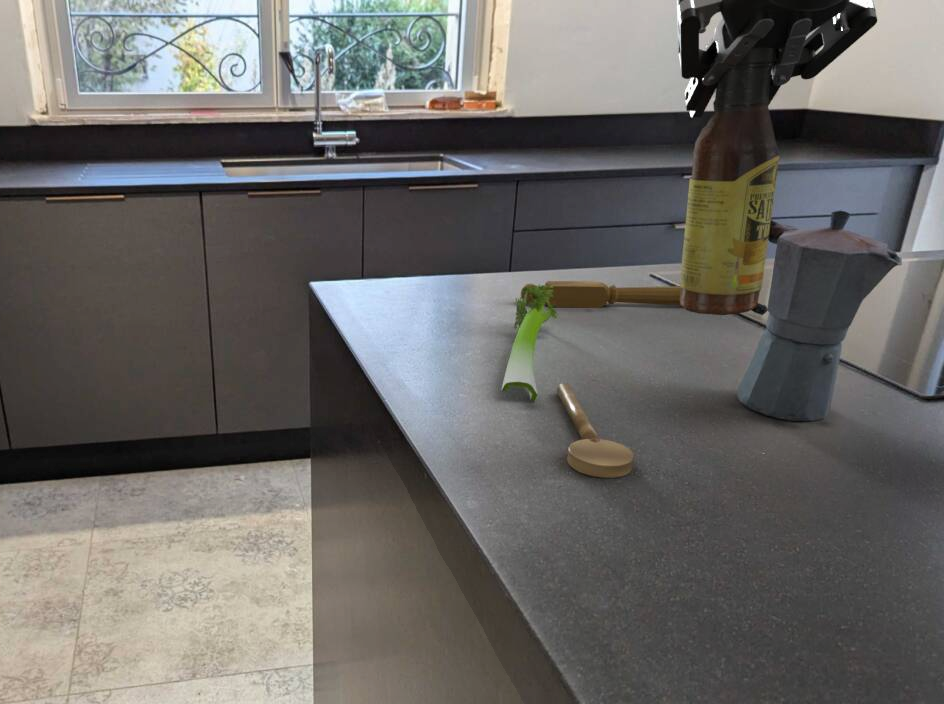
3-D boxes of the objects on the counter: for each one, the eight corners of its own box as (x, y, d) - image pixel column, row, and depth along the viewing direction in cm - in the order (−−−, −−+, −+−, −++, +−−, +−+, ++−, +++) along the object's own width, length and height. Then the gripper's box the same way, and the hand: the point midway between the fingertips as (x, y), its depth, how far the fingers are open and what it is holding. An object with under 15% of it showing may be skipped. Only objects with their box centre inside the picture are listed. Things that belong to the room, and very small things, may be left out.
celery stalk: (483, 412, 88) (508, 315, 113) (547, 427, 87) (559, 325, 112) (495, 361, 85) (518, 272, 110) (562, 376, 84) (571, 283, 109)
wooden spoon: (535, 392, 89) (536, 380, 88) (587, 393, 89) (589, 381, 88) (574, 477, 71) (576, 462, 70) (639, 478, 71) (642, 464, 70)
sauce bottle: (752, 321, 65) (789, 41, 57) (669, 315, 68) (692, 49, 60) (764, 300, 70) (800, 40, 62) (687, 295, 73) (710, 47, 65)
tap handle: (733, 288, 118) (523, 285, 119) (728, 309, 119) (521, 306, 120) (725, 283, 121) (520, 280, 122) (720, 303, 122) (518, 300, 123)
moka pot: (829, 441, 78) (891, 226, 69) (684, 392, 89) (722, 202, 81) (876, 418, 83) (938, 215, 74) (733, 375, 94) (773, 194, 86)
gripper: (723, -51, 49) (635, 147, 65) (967, -52, 48) (818, 148, 65) (708, -139, 52) (627, 72, 68) (940, -141, 51) (803, 73, 67)
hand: (721, 108), depth 66 cm, fingers closed on sauce bottle, 3 cm apart
